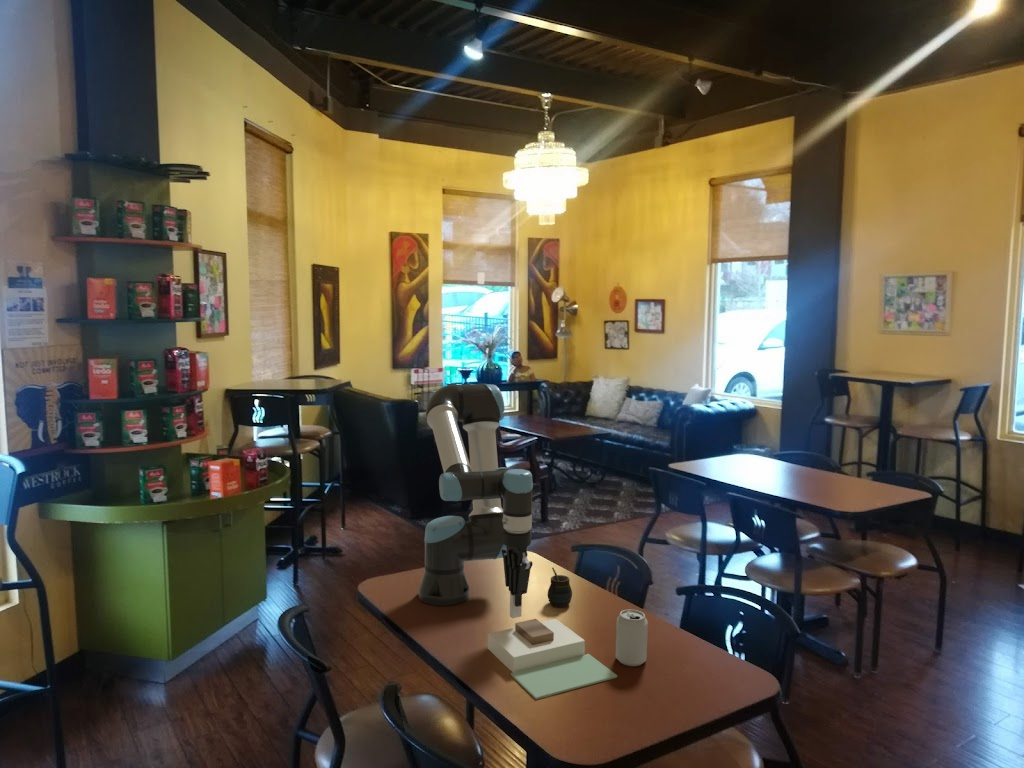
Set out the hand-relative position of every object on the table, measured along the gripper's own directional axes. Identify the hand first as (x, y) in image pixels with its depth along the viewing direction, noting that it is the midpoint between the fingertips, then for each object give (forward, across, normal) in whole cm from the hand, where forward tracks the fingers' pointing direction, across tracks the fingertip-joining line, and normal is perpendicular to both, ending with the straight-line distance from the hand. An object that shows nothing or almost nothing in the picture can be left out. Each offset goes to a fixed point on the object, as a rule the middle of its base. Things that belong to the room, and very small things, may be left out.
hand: (515, 616), depth 190 cm
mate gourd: (+5, -12, +21) cm, 25 cm away
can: (+5, +25, +19) cm, 32 cm away
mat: (+5, +24, 0) cm, 25 cm away
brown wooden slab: (+1, +10, 0) cm, 10 cm away
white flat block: (+5, +11, 0) cm, 12 cm away
